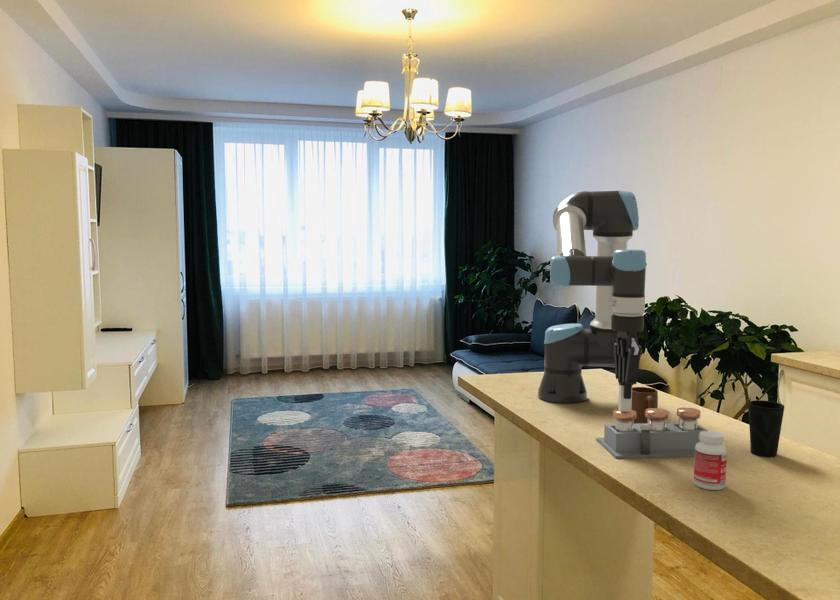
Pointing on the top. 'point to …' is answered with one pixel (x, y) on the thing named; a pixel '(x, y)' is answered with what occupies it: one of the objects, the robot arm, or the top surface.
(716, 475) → the pill bottle
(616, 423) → the knob
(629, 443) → the mount
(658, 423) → the knob mid
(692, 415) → the knob
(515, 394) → the top surface
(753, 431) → the cup
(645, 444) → the pot post
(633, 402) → the mug
